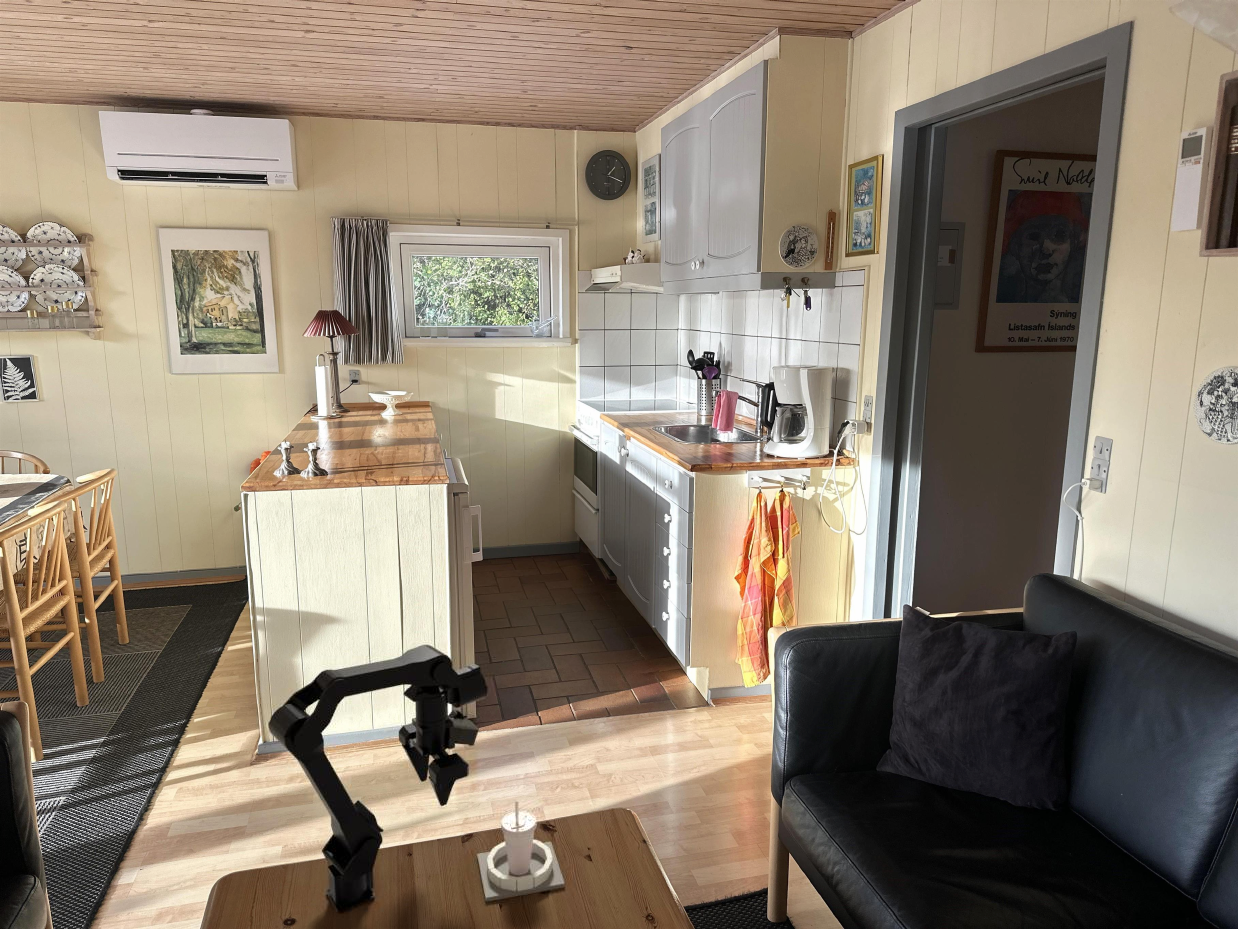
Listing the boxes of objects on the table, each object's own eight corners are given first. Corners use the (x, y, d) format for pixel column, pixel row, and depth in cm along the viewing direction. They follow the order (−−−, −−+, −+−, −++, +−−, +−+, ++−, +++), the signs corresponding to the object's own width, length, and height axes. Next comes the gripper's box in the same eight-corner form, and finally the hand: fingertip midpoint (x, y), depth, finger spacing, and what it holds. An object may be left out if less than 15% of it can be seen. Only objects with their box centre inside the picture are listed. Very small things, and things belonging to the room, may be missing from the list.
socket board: (485, 901, 149) (485, 887, 148) (477, 857, 160) (477, 844, 160) (564, 887, 153) (564, 873, 152) (551, 845, 164) (551, 832, 163)
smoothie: (494, 873, 155) (493, 803, 152) (514, 852, 160) (513, 785, 157) (524, 884, 152) (523, 814, 149) (543, 863, 158) (543, 795, 155)
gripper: (495, 724, 152) (495, 804, 156) (451, 684, 167) (452, 757, 170) (436, 742, 146) (438, 824, 149) (396, 698, 161) (398, 774, 164)
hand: (433, 792), depth 158 cm, fingers open, 9 cm apart
